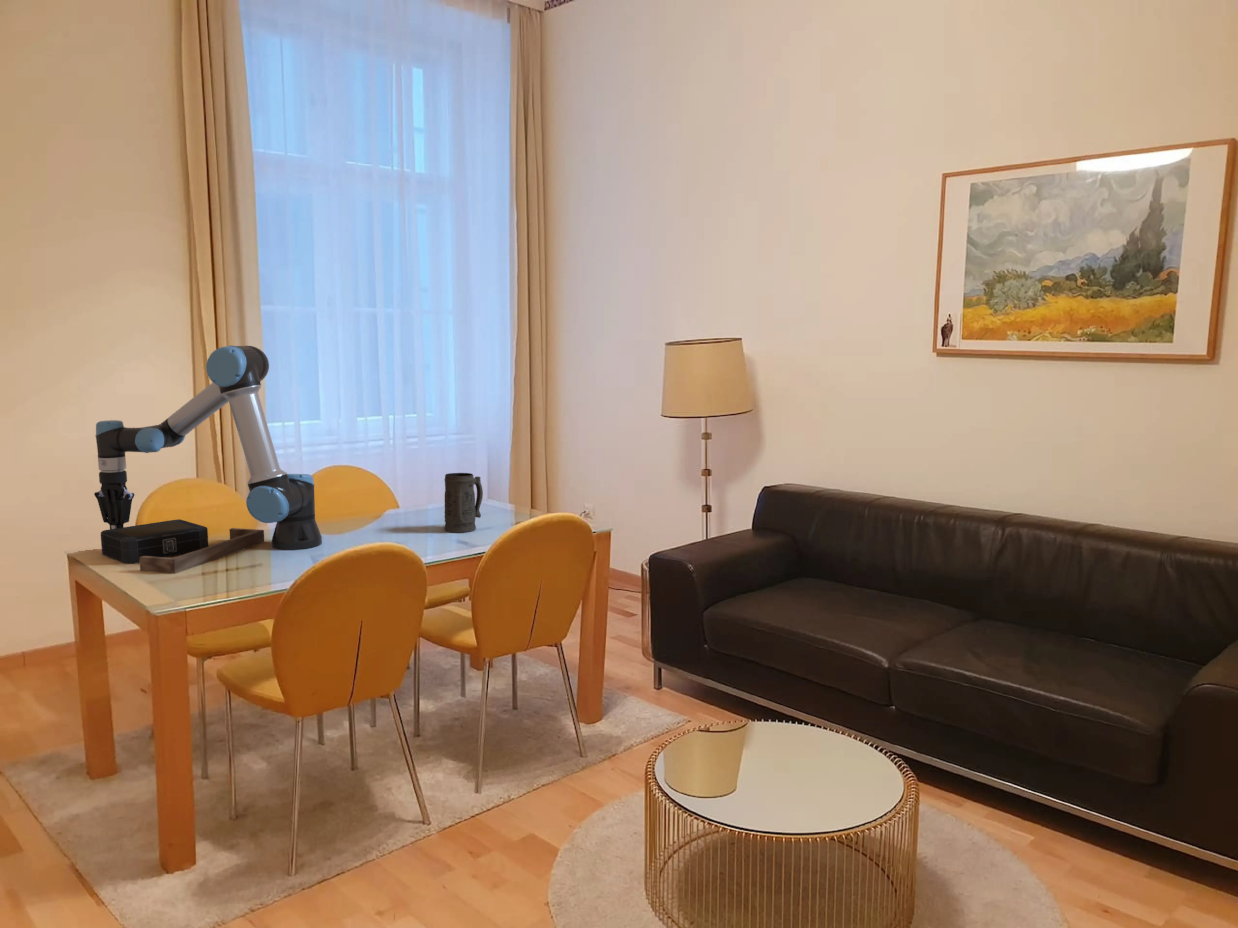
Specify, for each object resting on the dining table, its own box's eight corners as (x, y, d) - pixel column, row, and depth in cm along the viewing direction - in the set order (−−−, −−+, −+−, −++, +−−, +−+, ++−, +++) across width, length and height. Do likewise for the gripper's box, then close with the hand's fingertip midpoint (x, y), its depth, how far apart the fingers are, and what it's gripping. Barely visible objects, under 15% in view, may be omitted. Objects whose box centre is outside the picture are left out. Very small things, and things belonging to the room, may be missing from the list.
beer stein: (460, 534, 310) (461, 476, 308) (436, 530, 315) (438, 473, 314) (489, 529, 323) (491, 473, 321) (466, 526, 328) (467, 470, 327)
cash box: (127, 566, 267) (125, 540, 266) (100, 555, 280) (98, 530, 279) (212, 551, 286) (210, 526, 285) (182, 541, 299) (180, 518, 297)
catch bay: (264, 541, 297) (263, 529, 297) (175, 573, 258) (174, 559, 257) (233, 539, 300) (232, 527, 299) (140, 570, 260) (139, 557, 260)
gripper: (85, 471, 281) (91, 546, 284) (121, 473, 278) (126, 548, 281) (104, 468, 288) (109, 541, 291) (139, 469, 285) (144, 543, 288)
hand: (117, 544), depth 286 cm, fingers closed
